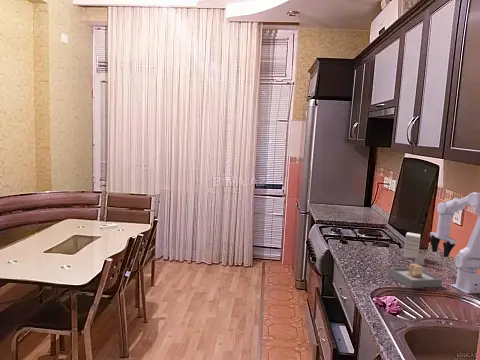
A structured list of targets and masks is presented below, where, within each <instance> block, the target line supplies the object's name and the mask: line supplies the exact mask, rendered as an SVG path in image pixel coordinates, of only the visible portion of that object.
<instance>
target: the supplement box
mask: <svg viewBox="0 0 480 360" xmlns="http://www.w3.org/2000/svg"><path fill="white" fill-rule="evenodd" d="M421 235H422V234H420V233H414V232H409V231H408V232H406V234H405V239H404V240H405V241H404V247H403V253H402V254H403V257H404V258H408V259H413V260H415V259H416V255H418V254H420V253H419V251H420V245H421Z"/></svg>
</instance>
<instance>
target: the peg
mask: <svg viewBox="0 0 480 360" xmlns="http://www.w3.org/2000/svg"><path fill="white" fill-rule="evenodd" d="M408 267H409V273H408V275H409V276H410V277H412V278H421V277H422V270H424V269H423V268H424V267H423V265H419V264H415V263H409V265H408Z"/></svg>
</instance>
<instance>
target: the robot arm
mask: <svg viewBox="0 0 480 360" xmlns="http://www.w3.org/2000/svg"><path fill="white" fill-rule="evenodd" d="M467 206H470V207H471V208H472V210H473V212H474V213H475V214H476V215H477V216H478V217H477V218H476V219H477V220H476V222H475V225H474V227H473V230H472V232H471V235H470V237H469V240H468V242H467V244H466V247H464V248H462V249H460V250H459V251H458V253H457V254H456V255H455V257H454V265H455V266H456V268H457V273H456V274H457V275H456V280H455V281H456V282H455V283H453V284H452V283H451V284H450V286H451V287H453V288H456V289H458V290H459V291H462V292H463V293H465V294H468V295H469V294H480V274H479V273H478V272H479V270H480V192H476V191H474V192H471V193H468V195H466V196H464V197H461V198H458V197H453V199H451V200H447V201H446V202H442V201H440V202H439V203H438V204H437V207H436V210H437V213H438V220H437V227H436V232H435V231H430V233H429V238H428V239H429V242H430V245H431V252H432V253H437V252H438V248H439V244H440V242H441V241H444V242H442V245H443V257H444V258H448V257H450V256H449V255H450V253H451V251H452V250H453V248H454V247H455V246H456V239H454V238H453V237H450V233H451V226H452V220H453V218H454V216H455V214H456V213H457V212H459V211H462V210H464V209H465V207H467Z"/></svg>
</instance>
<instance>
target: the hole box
mask: <svg viewBox="0 0 480 360" xmlns="http://www.w3.org/2000/svg"><path fill="white" fill-rule="evenodd" d="M408 273H409V266H408V267H389V268H388V274H387V275H388V276H389V277H391V278H392V279H394V280H395V281H397V282H400V283H401V284H403V285H405V286H407V287H408V288H409V287H410V288H409V289H423V287H430V288H442V285H443V284H442V283H443V279H442V278H440V277H438V276H436V275H434V274H432V273H431V272H428V271H426V270H424V269H423V270H422V277H421V278H412V277H410V276H409V275H408Z"/></svg>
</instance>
